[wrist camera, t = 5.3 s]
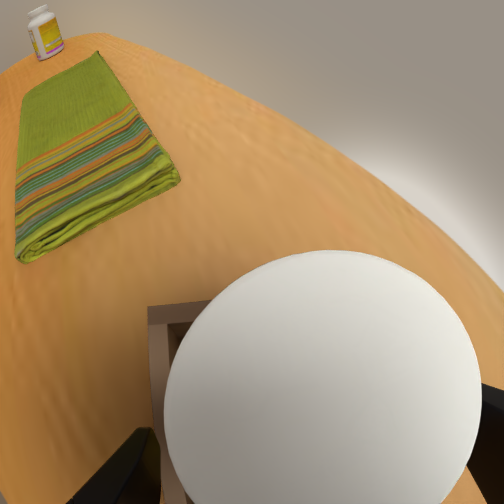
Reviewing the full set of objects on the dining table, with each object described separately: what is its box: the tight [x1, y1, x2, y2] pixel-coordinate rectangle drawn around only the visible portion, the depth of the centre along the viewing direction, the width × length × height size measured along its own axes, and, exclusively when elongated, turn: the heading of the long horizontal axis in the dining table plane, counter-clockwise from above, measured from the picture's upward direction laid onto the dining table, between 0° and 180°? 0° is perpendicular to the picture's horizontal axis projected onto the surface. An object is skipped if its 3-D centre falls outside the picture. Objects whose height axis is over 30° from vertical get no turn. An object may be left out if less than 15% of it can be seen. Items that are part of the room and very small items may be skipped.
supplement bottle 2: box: [164, 250, 482, 504], centre depth 10 cm, size 7×7×13 cm
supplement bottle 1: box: [28, 4, 64, 60], centre depth 41 cm, size 7×7×13 cm
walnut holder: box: [148, 300, 212, 504], centre depth 14 cm, size 12×12×4 cm
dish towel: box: [15, 51, 181, 264], centre depth 29 cm, size 15×36×3 cm, turn 32°
